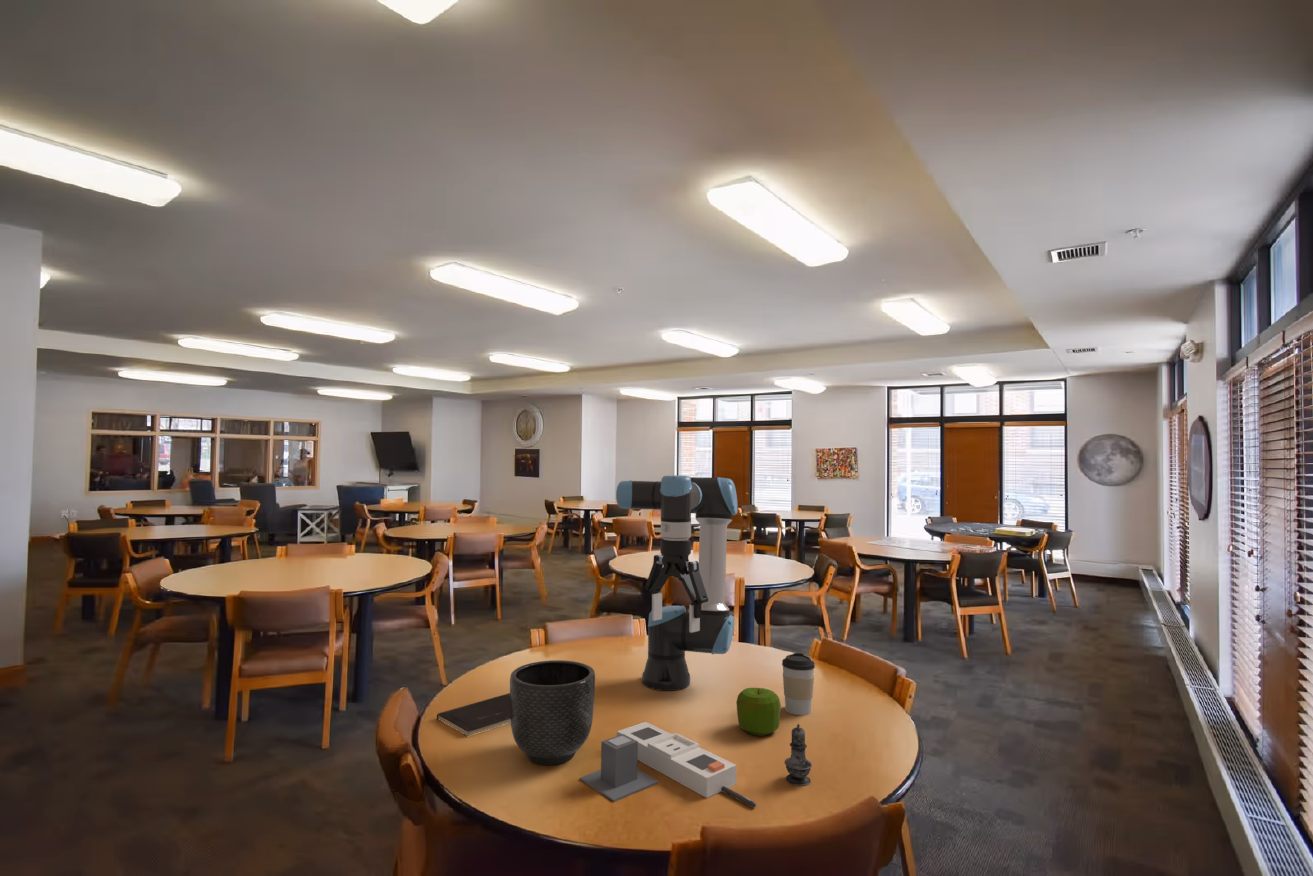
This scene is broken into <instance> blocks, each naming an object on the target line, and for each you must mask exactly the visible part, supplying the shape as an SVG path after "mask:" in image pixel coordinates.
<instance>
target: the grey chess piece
mask: <svg viewBox="0 0 1313 876" xmlns="http://www.w3.org/2000/svg"><path fill="white" fill-rule="evenodd" d="M789 746H790V747H791V748H790V751H791V752H790V757H787V758H786V759H785V760H784V765H785V768H786V771H787V773H788V774H787V775H786V777H785V780H786V782H787V783H789V785H790V784H791V785H794V786H798V787H805V786H808V785H810V784H811V782H812V781H811V779H810V777H809V776H808V775H809V774H810V772H811V768H812V767H813V764H812V761H810V760H808V759H807V758H806V756H807V755H806V749H807V747H808V745H807V744H806V732H805V730H804V729H803V728H801V725H800V723H797V724H796V727H793V728H792V729H791V742H790V743H789Z"/></svg>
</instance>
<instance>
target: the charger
mask: <svg viewBox="0 0 1313 876" xmlns="http://www.w3.org/2000/svg"><path fill="white" fill-rule="evenodd" d="M600 744H601V747H600V748H601V749H600V750H601V752H600V753H601V755H600V756H601V758H600V770H601V780H603V781H604V782H606V783H607V784H609V785H611V786H612V787H614V788H617V787H620V786H622V785H624V784H627V783H629V782H632V781H634V780H637V769H638V761H639V760H638V741H636V740H634V739H632V738H630V737H628V736H626V735H624V734H621V735H618V736H617V735H616V736H613V737H610V738H607V739H605V740H602V741H601V743H600Z"/></svg>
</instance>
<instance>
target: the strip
mask: <svg viewBox="0 0 1313 876" xmlns="http://www.w3.org/2000/svg"><path fill="white" fill-rule="evenodd" d="M621 734H624V735H626V736H628V737H630V738H632V739H634V740H636V741H638V761H639V762H641V763H643V764H644V765H646V766H648V767H650V768H652V769H653V770H655V771H657V772H659V773H661V774H663V775H664V776H666V777H668V778H670V779H671V780H673V781H676V782H677V783H679V784H680V785H682V786H684V787H686V788H688V789H690V790H691V791H694V792H695V793H697V794H699V795H700V796H702V797H704V798H706V799H708V798H710V797H712V796H715V795H716V794H718V793H721V792H724V793H726V794H727V795H729V796H731V797H733V798H735V799H737V800H738V801H740V802H742V803H743V804H746V805H748V806H750V807H751V808H756V806H757V803H756V802H755V801H754V800H751V799H749V798H748V797H746V796H744V795H741V794H740V793H738V792H736V791H734V790H732V789H730V788H731V787H733V786H735V785H737V764H735V763H733V762H731V761H729V760H727V759H725V758H722V757H721V756H718V755H716V754H714V753H712V752H710V751H708V750H706V749H704V748H702V747H700V743H698V742H696V741H694V740H691V739H690V738H687V737H685V736H684V735H681V734H679V733H677V732H675V733H670V732H668V731H666V730H664V729H662V728H660V727H658V726H655V725H653V724H651V723H649V722H646V721H644V722H641V723H638V724H636V725H632V726H629V727H625V728H622V729H619V730H617V731H616V736H618V735H621Z"/></svg>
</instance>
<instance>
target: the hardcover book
mask: <svg viewBox="0 0 1313 876" xmlns="http://www.w3.org/2000/svg"><path fill="white" fill-rule="evenodd" d="M437 719H440V720H442V721H443V722H445V723H447V724H449V725H450V726H452V727H453V728H455V729H457V730H458V731H460V732H462V733H464V734H465V735H467V736H470V735H473V734H475V733H478V732H482V731H485V730H488V729H491V728H494V729H496V728H495V727H498V726H501V725H503V724H506V723H510V724H511V719H510V692H509V693H505V694H502V695H499V696H495V697H491V698H487V699H484V700H481V701H477V702H473V703H470V704H466V705H463V706H460V707H456V708H452V709H449V710H445V711H442V712H438V713H437V714H436V720H437ZM440 720H439V721H440ZM443 722H442V723H443ZM445 723H444V724H445ZM450 726H449V727H450ZM452 727H451V728H452ZM501 727H502V726H501ZM453 728H452V729H453ZM498 728H499V727H498ZM455 729H454V730H455ZM457 730H456V731H457ZM491 730H492V729H491ZM458 731H457V732H458ZM488 731H489V730H488ZM460 732H459V733H460ZM485 732H486V731H485ZM462 733H461V734H462ZM482 733H483V732H482ZM465 735H464V736H465ZM467 736H466V737H467ZM473 736H474V735H473ZM470 737H471V736H470Z"/></svg>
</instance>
